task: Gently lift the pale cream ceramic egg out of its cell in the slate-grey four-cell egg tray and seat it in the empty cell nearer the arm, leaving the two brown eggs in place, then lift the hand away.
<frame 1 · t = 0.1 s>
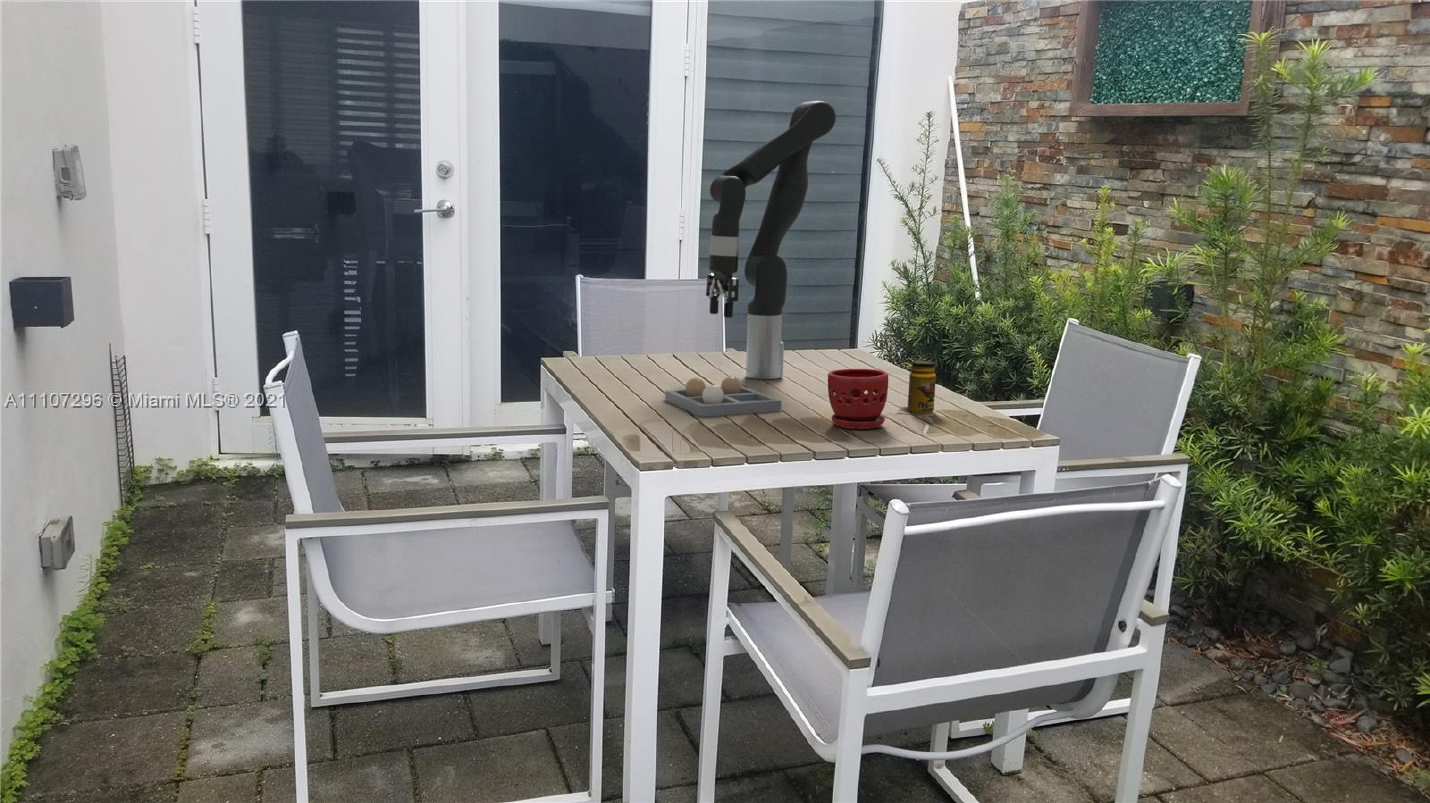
hand: (720, 315, 295), 17 cm above the table, tool pointing down, fingers open, 8 cm apart
plant pot: (855, 426, 245), on the table
brown egg 2: (695, 388, 265), point 3 cm above the table, touching egg tray
brown egg 1: (731, 386, 269), point 3 cm above the table, touching egg tray
icecream: (852, 398, 277), on the table
pale egg: (712, 395, 257), point 3 cm above the table, touching egg tray
egg tray: (722, 405, 264), on the table
condiment: (916, 413, 262), on the table
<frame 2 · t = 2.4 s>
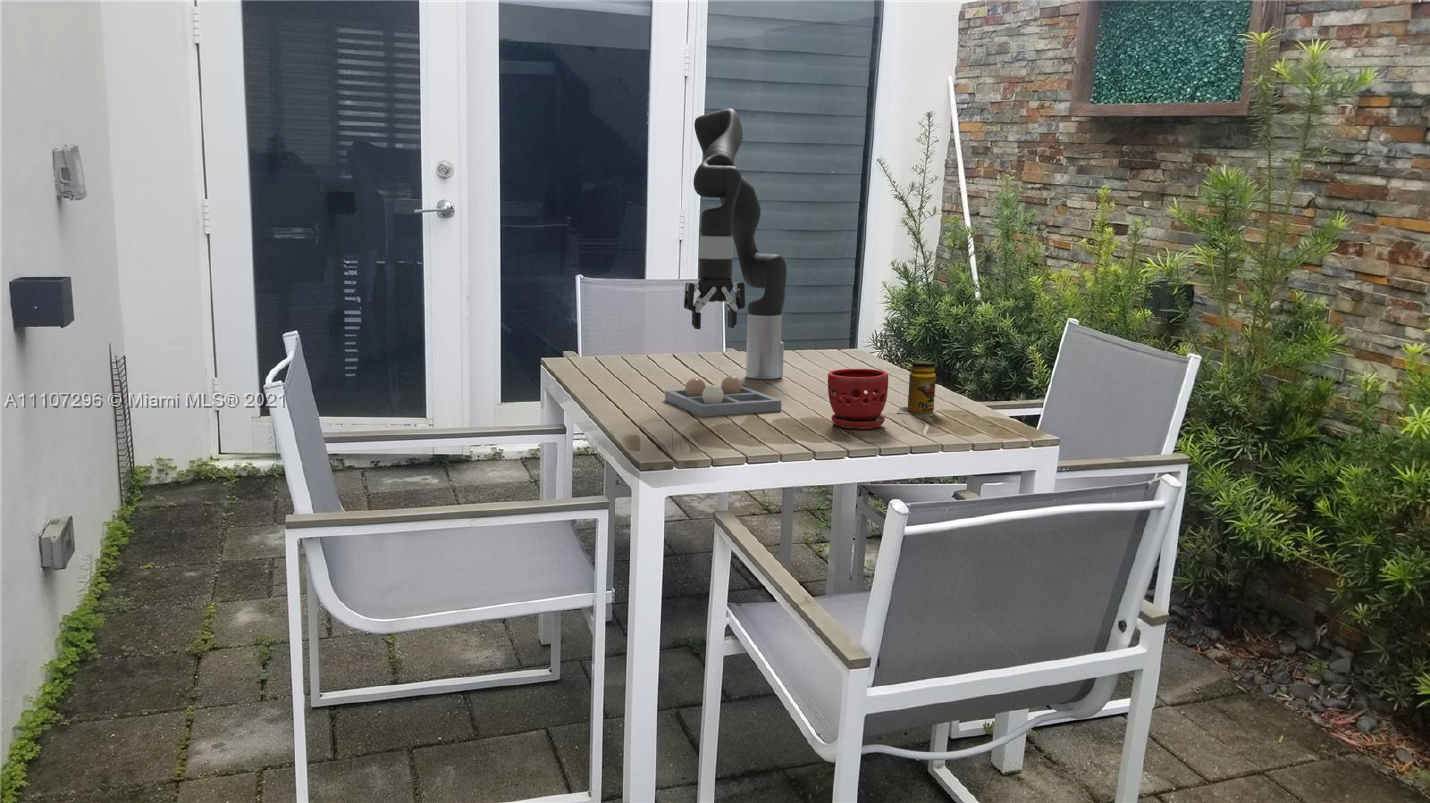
hand: (714, 328, 254), 19 cm above the table, tool pointing down, fingers open, 8 cm apart
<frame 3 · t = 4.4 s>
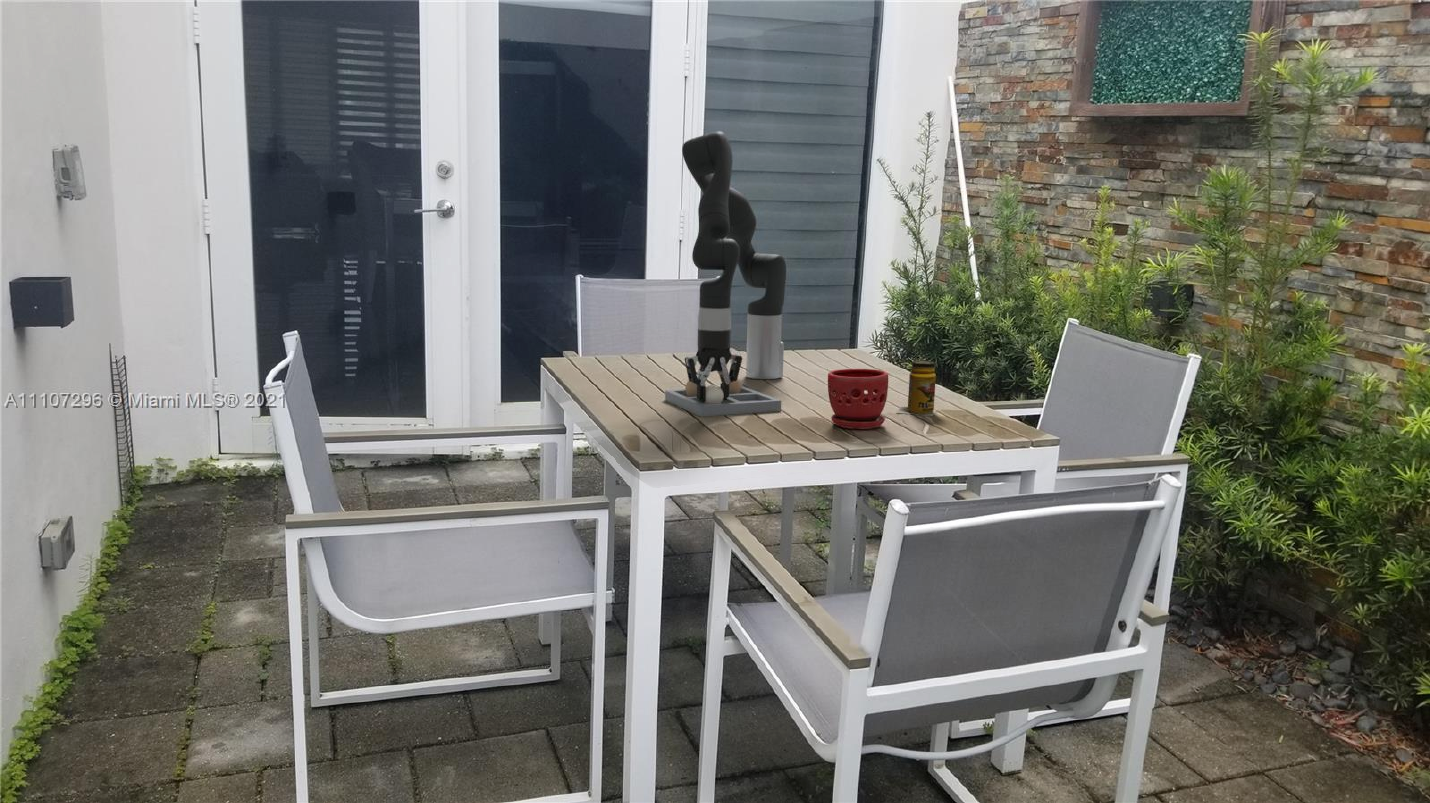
hand: (712, 400, 257), 2 cm above the table, tool pointing down, fingers closed on pale egg, 5 cm apart
pale egg: (712, 395, 257), point 3 cm above the table, touching egg tray, gripper
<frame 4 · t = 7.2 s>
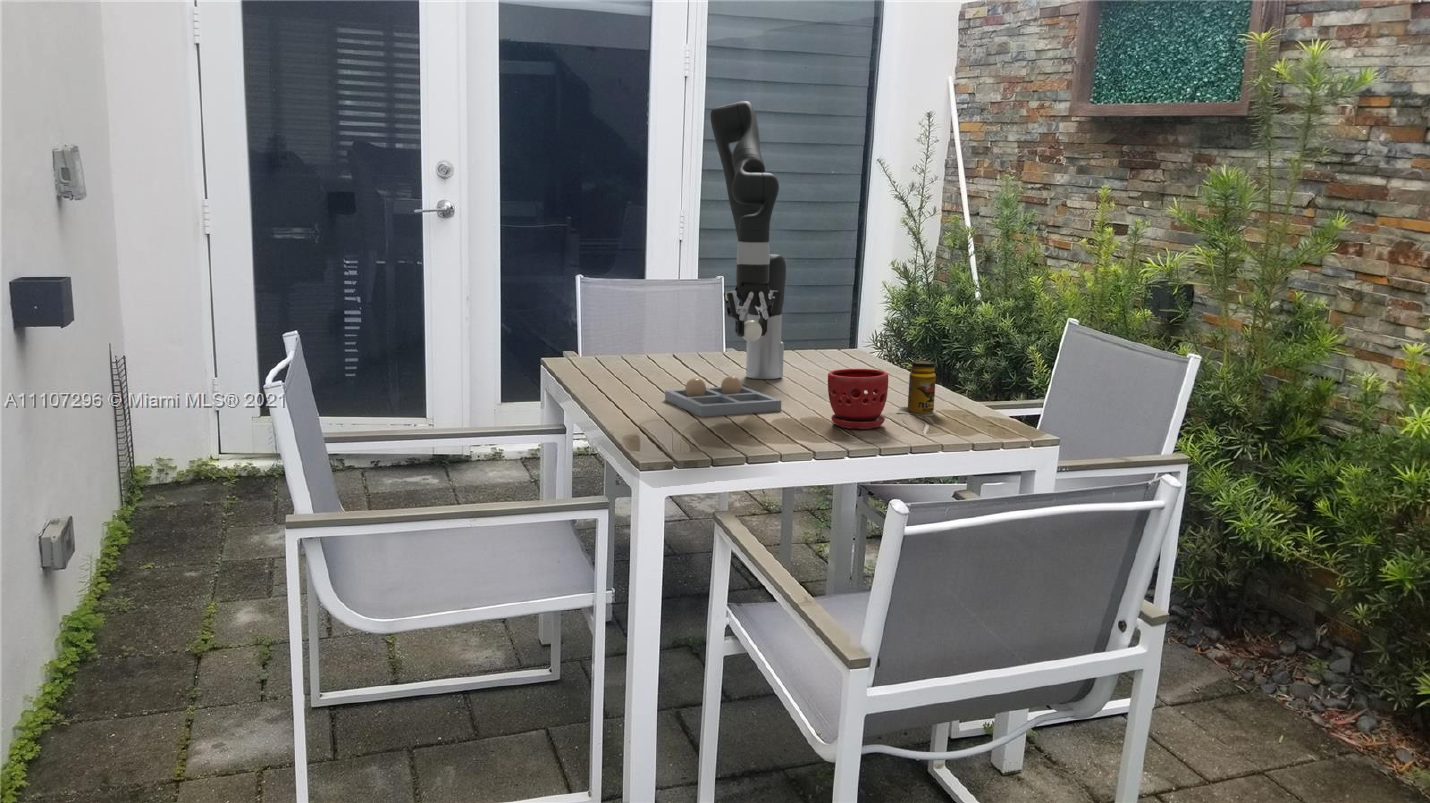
hand: (751, 335, 258), 17 cm above the table, tool pointing down, fingers closed on pale egg, 5 cm apart
pale egg: (751, 330, 258), point 18 cm above the table, touching gripper
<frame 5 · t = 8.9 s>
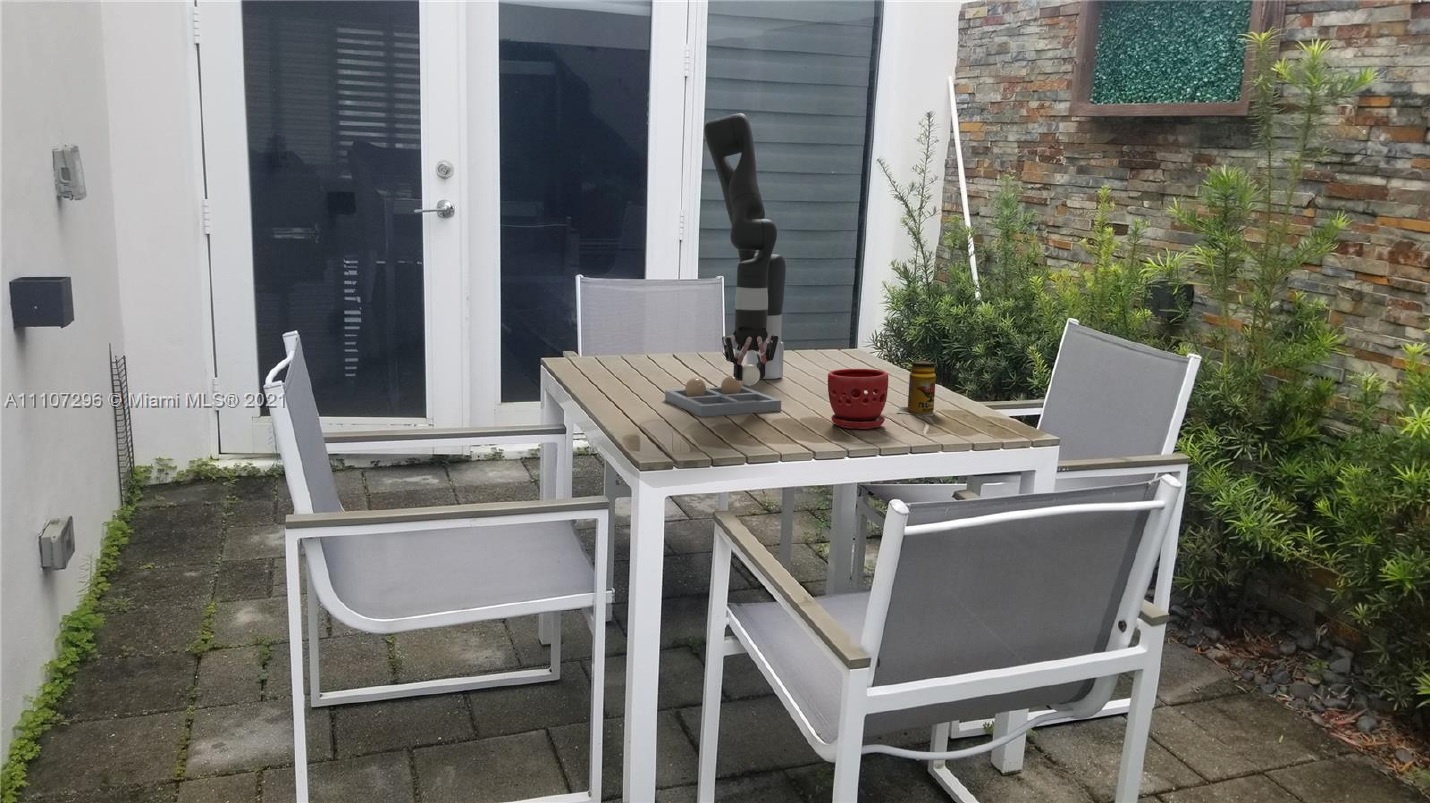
hand: (749, 379, 260), 7 cm above the table, tool pointing down, fingers closed on pale egg, 5 cm apart
pale egg: (749, 374, 260), point 8 cm above the table, touching gripper
when the fingers open (4 cm above the table, at t = 10.0 s): pale egg drops 1 cm, resting on egg tray.
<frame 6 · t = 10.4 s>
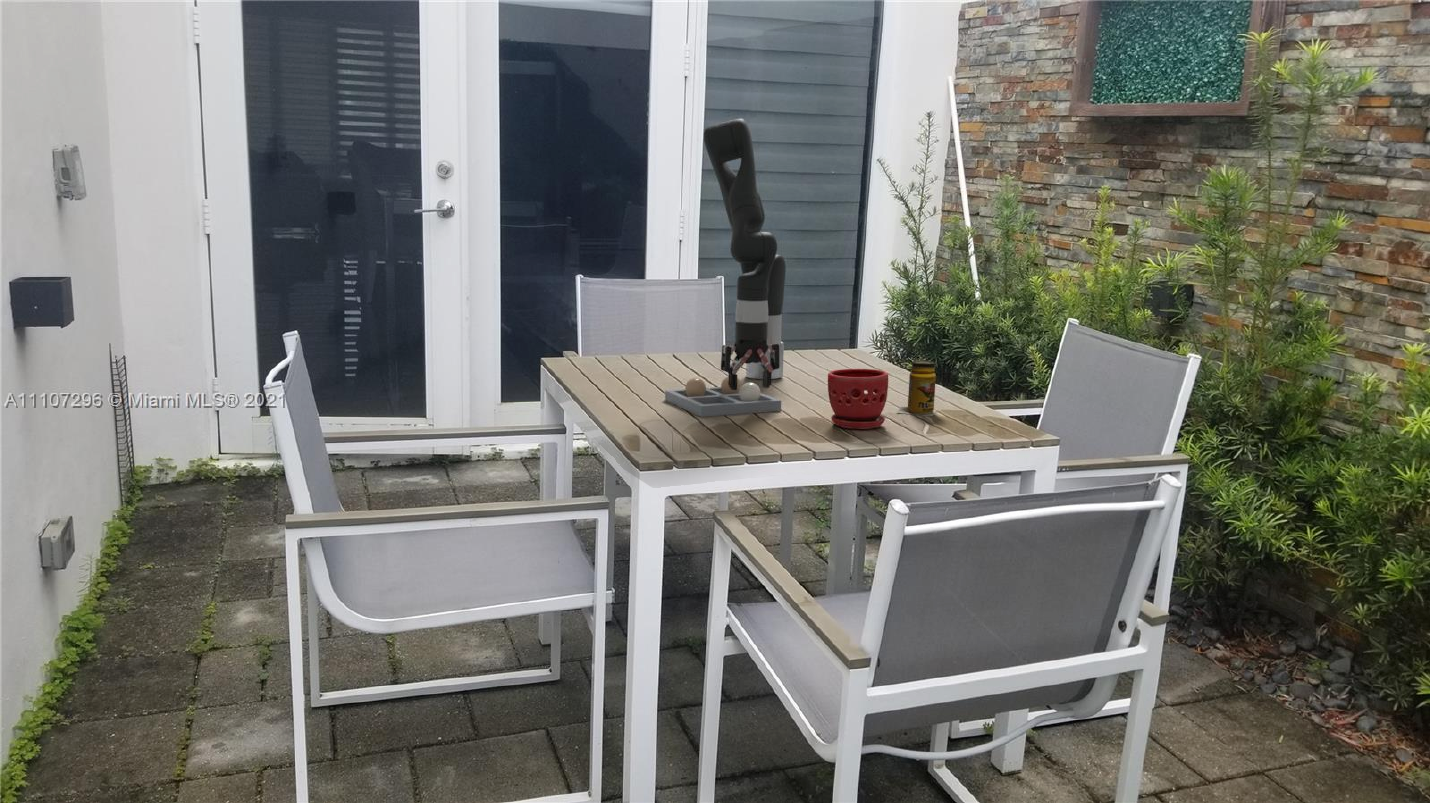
hand: (749, 388, 261), 5 cm above the table, tool pointing down, fingers open, 8 cm apart
pale egg: (749, 393, 261), point 3 cm above the table, touching egg tray
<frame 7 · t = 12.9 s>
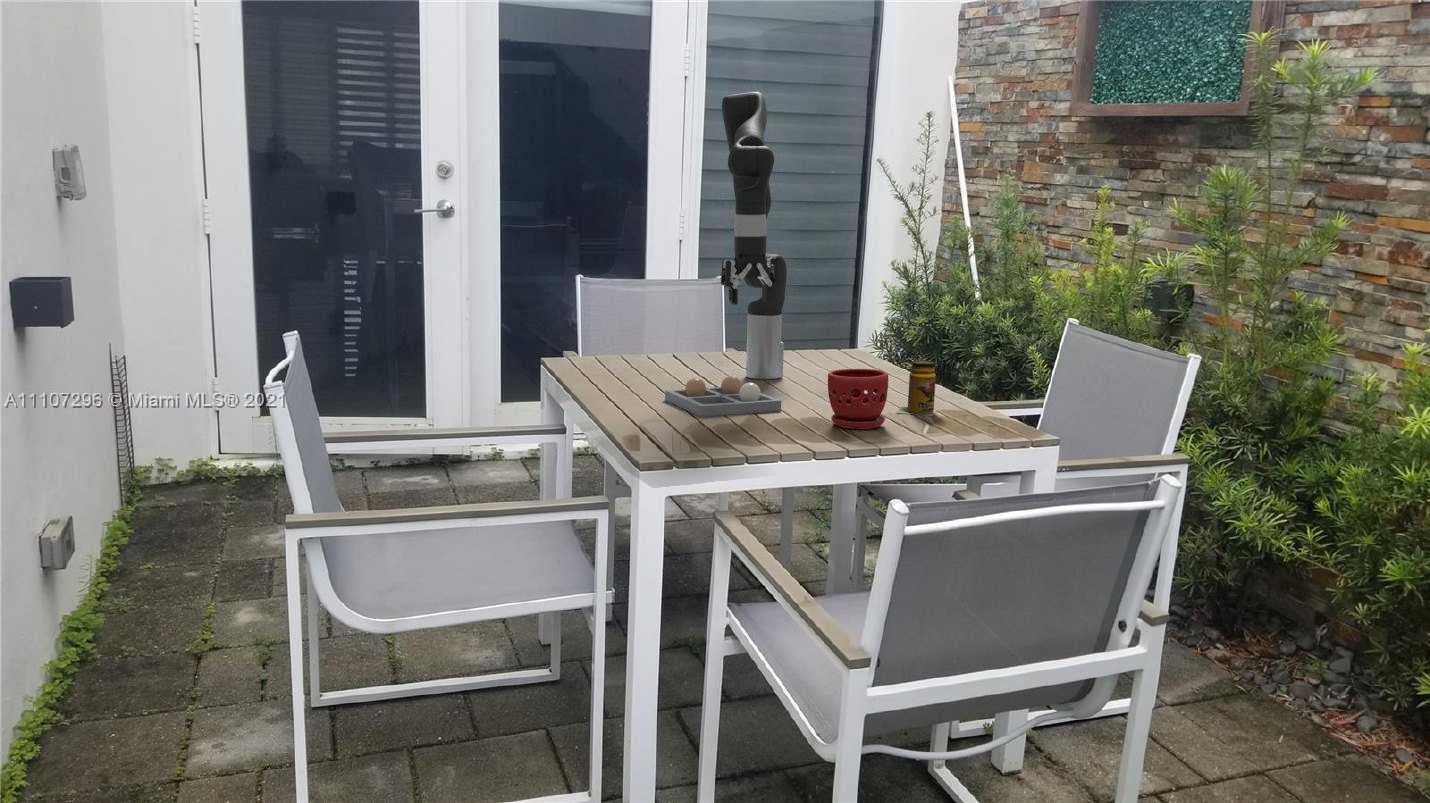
hand: (749, 303, 264), 24 cm above the table, tool pointing down, fingers open, 8 cm apart
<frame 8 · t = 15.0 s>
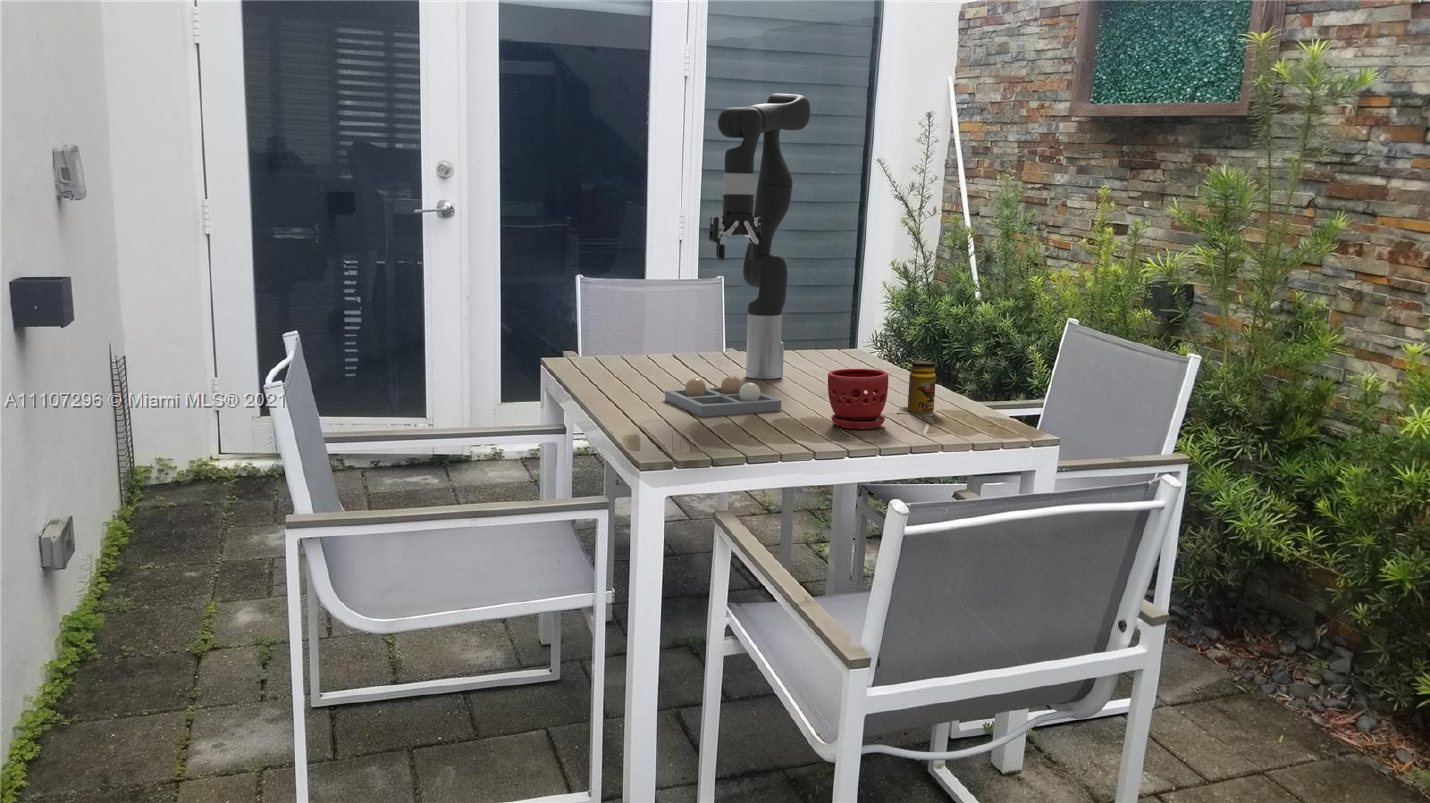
hand: (736, 259, 274), 33 cm above the table, tool pointing down, fingers open, 8 cm apart
at the end: pale egg inside the target area on the egg tray (0.1 cm from its centre), point 3.5 cm above the egg tray's base; the gripper is holding nothing; brown egg 1 moved 0.1 cm from its start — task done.
